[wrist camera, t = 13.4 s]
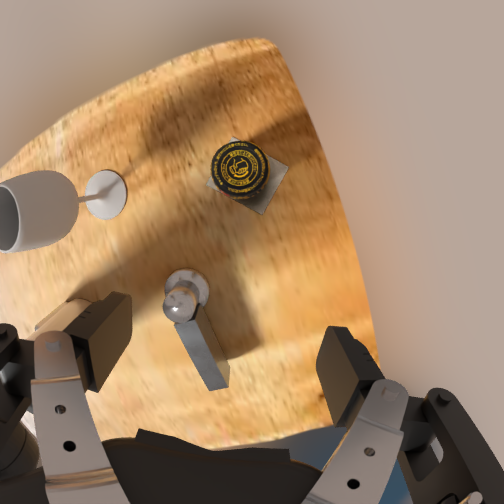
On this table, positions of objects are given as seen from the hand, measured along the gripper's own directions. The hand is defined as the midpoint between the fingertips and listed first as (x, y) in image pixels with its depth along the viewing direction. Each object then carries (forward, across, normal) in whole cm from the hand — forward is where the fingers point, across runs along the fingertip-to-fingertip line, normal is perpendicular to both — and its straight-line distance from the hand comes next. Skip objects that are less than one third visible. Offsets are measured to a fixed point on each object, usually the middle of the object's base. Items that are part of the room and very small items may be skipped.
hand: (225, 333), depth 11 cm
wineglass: (+28, +20, -1) cm, 34 cm away
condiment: (+28, 0, -6) cm, 29 cm away
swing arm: (+26, +3, +16) cm, 31 cm away
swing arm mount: (+28, +6, +11) cm, 30 cm away
